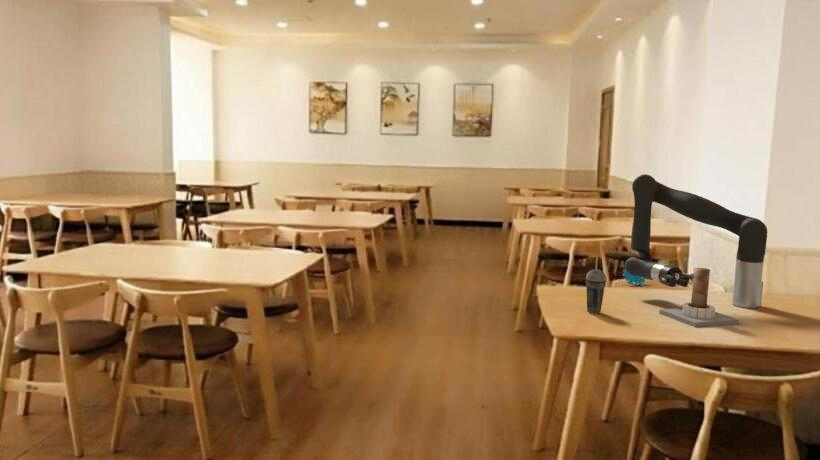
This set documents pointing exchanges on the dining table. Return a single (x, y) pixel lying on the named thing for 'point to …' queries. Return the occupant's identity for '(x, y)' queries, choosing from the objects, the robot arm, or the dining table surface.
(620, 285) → the dining table surface
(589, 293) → the beverage cup
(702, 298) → the cylinder
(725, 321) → the socket plate
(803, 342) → the dining table surface
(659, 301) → the dining table surface
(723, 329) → the dining table surface
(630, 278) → the blue spiky lump
